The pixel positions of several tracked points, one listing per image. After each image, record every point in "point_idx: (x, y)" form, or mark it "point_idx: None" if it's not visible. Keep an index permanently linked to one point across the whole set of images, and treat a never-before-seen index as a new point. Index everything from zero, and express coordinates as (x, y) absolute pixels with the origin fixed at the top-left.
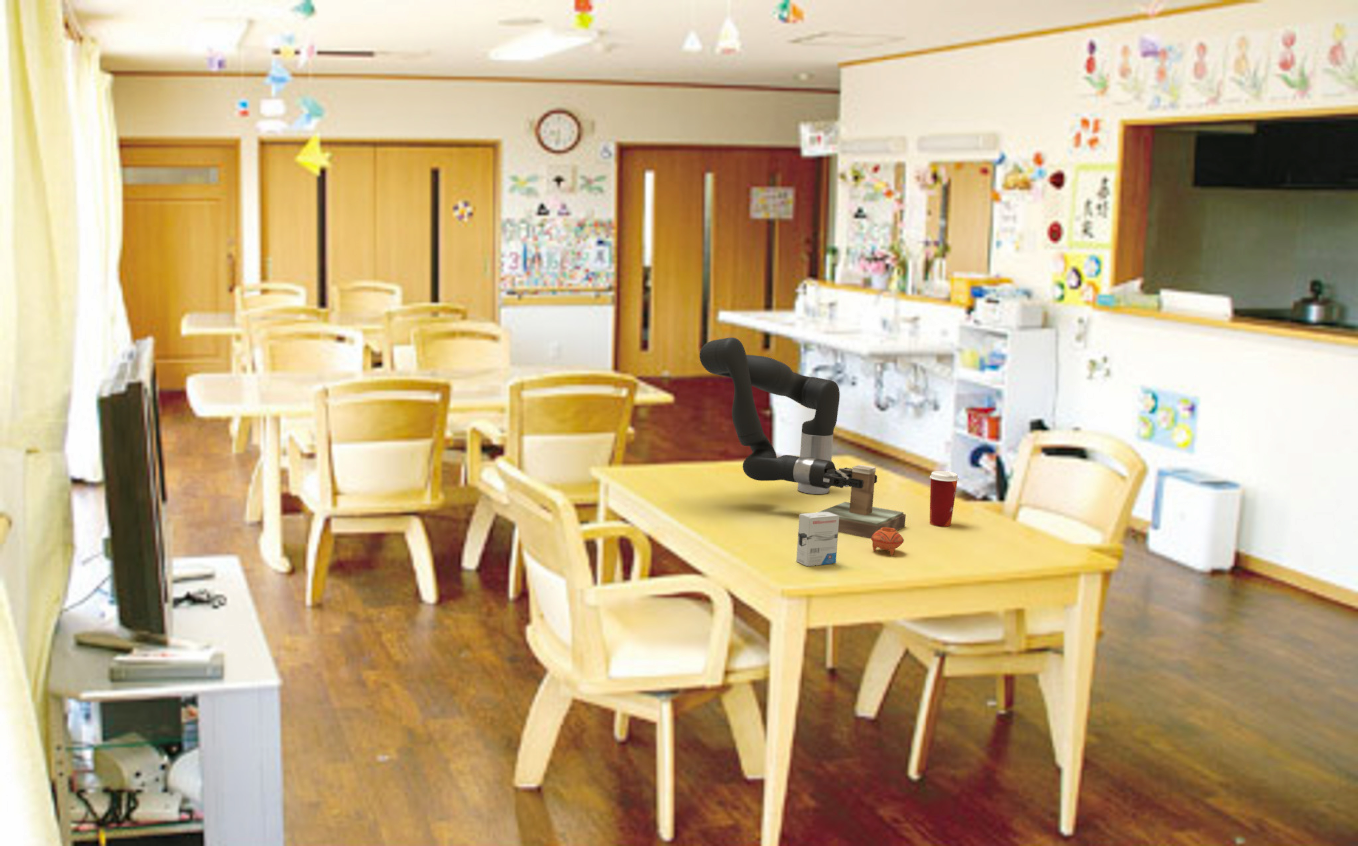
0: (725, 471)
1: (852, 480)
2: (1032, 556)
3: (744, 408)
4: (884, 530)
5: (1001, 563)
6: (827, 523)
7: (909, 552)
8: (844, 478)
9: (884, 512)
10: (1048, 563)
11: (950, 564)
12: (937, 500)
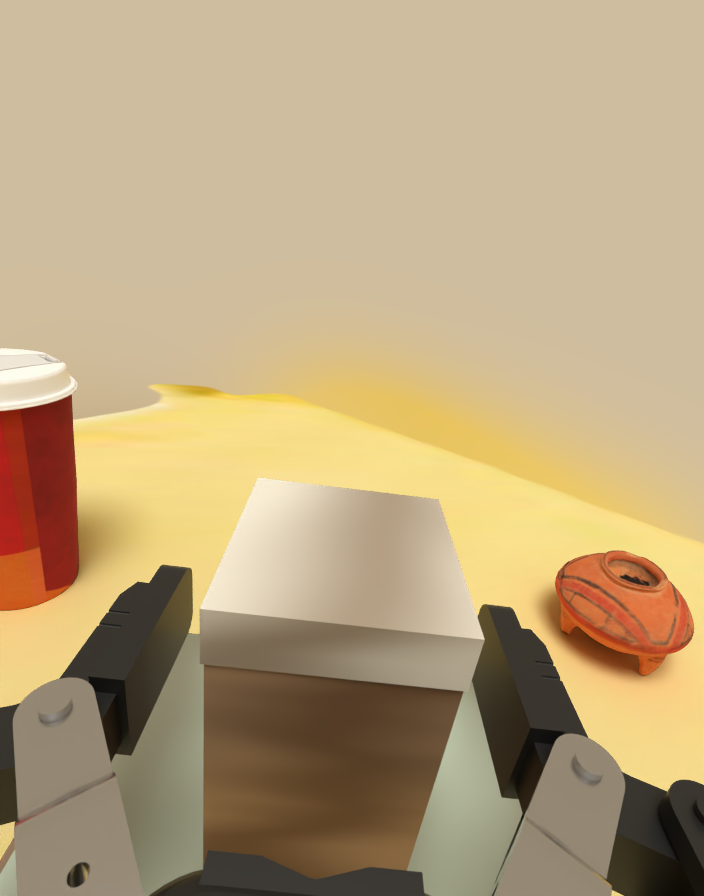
0: None
1: (558, 700)
2: (318, 436)
3: None
4: (663, 575)
5: (416, 461)
6: None
7: (526, 587)
8: (616, 813)
9: (203, 708)
10: (349, 425)
11: (521, 511)
12: (66, 489)
